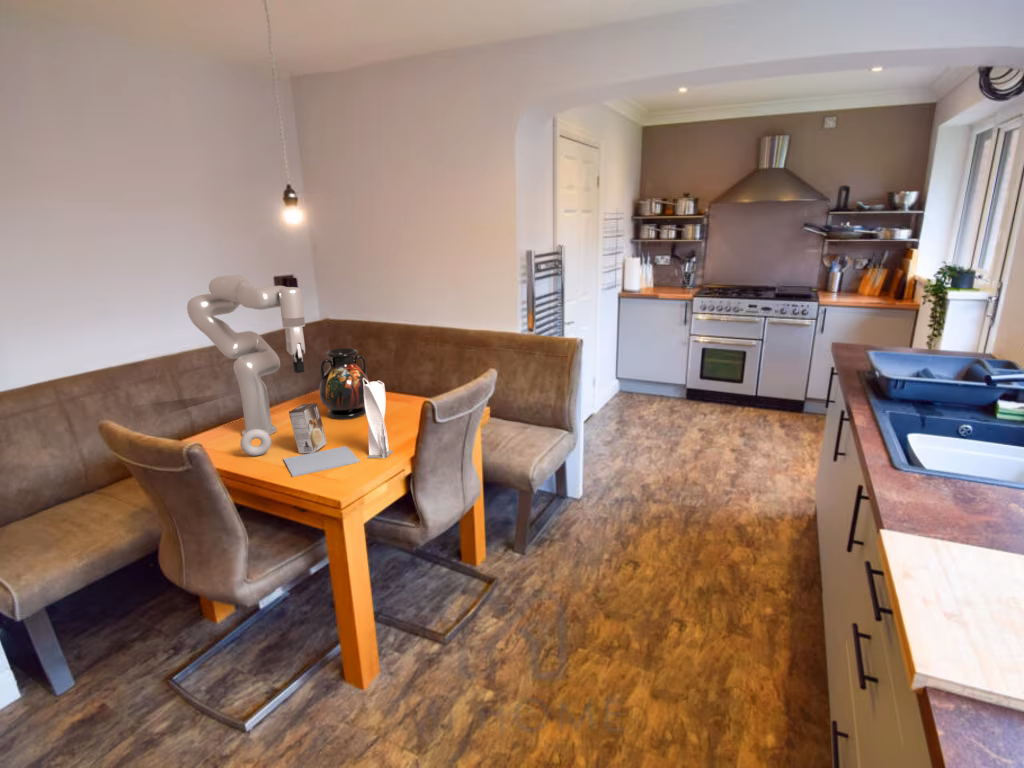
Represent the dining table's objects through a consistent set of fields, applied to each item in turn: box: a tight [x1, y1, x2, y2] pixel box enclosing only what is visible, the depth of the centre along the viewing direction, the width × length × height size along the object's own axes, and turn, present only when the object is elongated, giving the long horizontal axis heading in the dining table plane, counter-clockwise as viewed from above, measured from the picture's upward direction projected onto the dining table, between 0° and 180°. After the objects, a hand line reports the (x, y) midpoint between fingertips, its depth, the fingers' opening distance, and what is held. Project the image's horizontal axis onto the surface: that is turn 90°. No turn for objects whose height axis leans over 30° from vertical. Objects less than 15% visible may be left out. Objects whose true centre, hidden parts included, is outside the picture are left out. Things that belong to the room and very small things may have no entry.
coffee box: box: [288, 402, 328, 455], centre depth 201 cm, size 9×6×16 cm
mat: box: [283, 445, 360, 478], centre depth 192 cm, size 16×22×1 cm
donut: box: [240, 429, 272, 457], centre depth 197 cm, size 10×4×10 cm, turn 115°
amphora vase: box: [318, 347, 371, 420], centre depth 238 cm, size 22×22×28 cm
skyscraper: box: [362, 378, 394, 459], centre depth 195 cm, size 8×8×28 cm
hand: (299, 372), depth 204 cm, fingers closed
